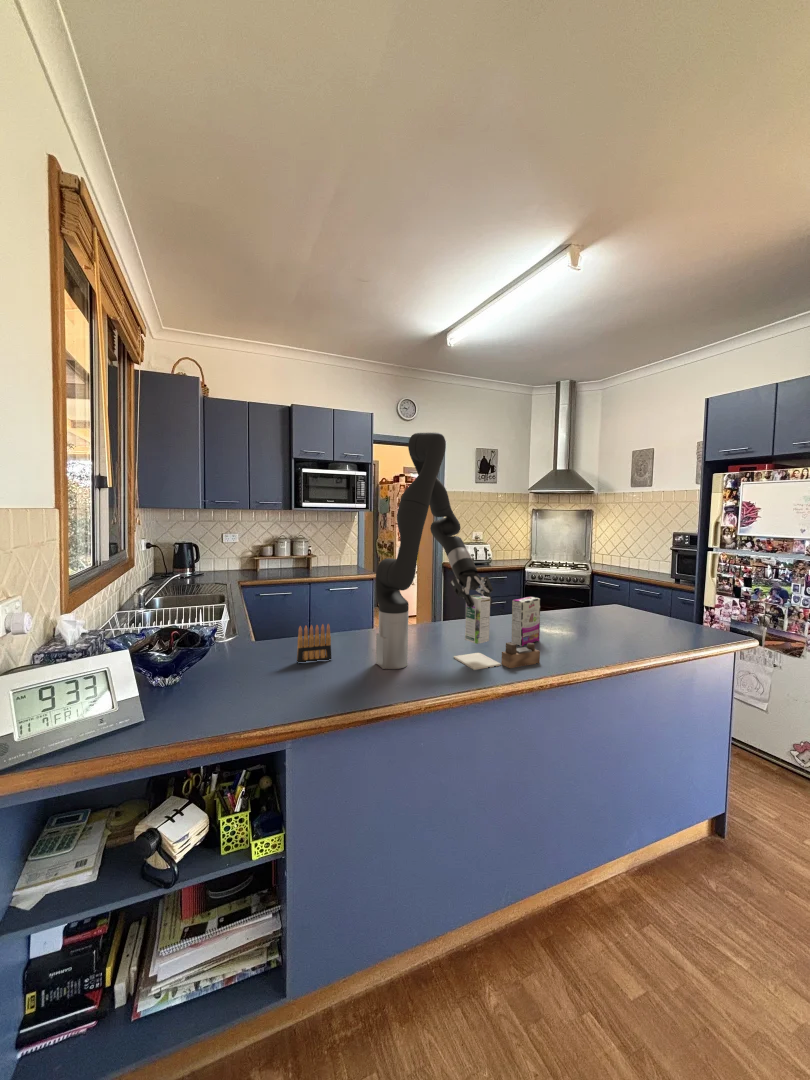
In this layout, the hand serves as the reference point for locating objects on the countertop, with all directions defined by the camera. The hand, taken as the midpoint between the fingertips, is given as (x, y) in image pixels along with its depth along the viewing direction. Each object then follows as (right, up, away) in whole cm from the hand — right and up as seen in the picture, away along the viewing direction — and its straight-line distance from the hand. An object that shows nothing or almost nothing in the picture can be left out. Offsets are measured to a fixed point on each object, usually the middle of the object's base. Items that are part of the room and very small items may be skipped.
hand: (481, 605), depth 142 cm
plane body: (+13, -19, +1) cm, 23 cm away
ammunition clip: (-53, -18, 0) cm, 56 cm away
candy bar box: (+21, -18, +25) cm, 37 cm away
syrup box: (-1, -12, +2) cm, 12 cm away
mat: (-1, -19, +3) cm, 19 cm away
